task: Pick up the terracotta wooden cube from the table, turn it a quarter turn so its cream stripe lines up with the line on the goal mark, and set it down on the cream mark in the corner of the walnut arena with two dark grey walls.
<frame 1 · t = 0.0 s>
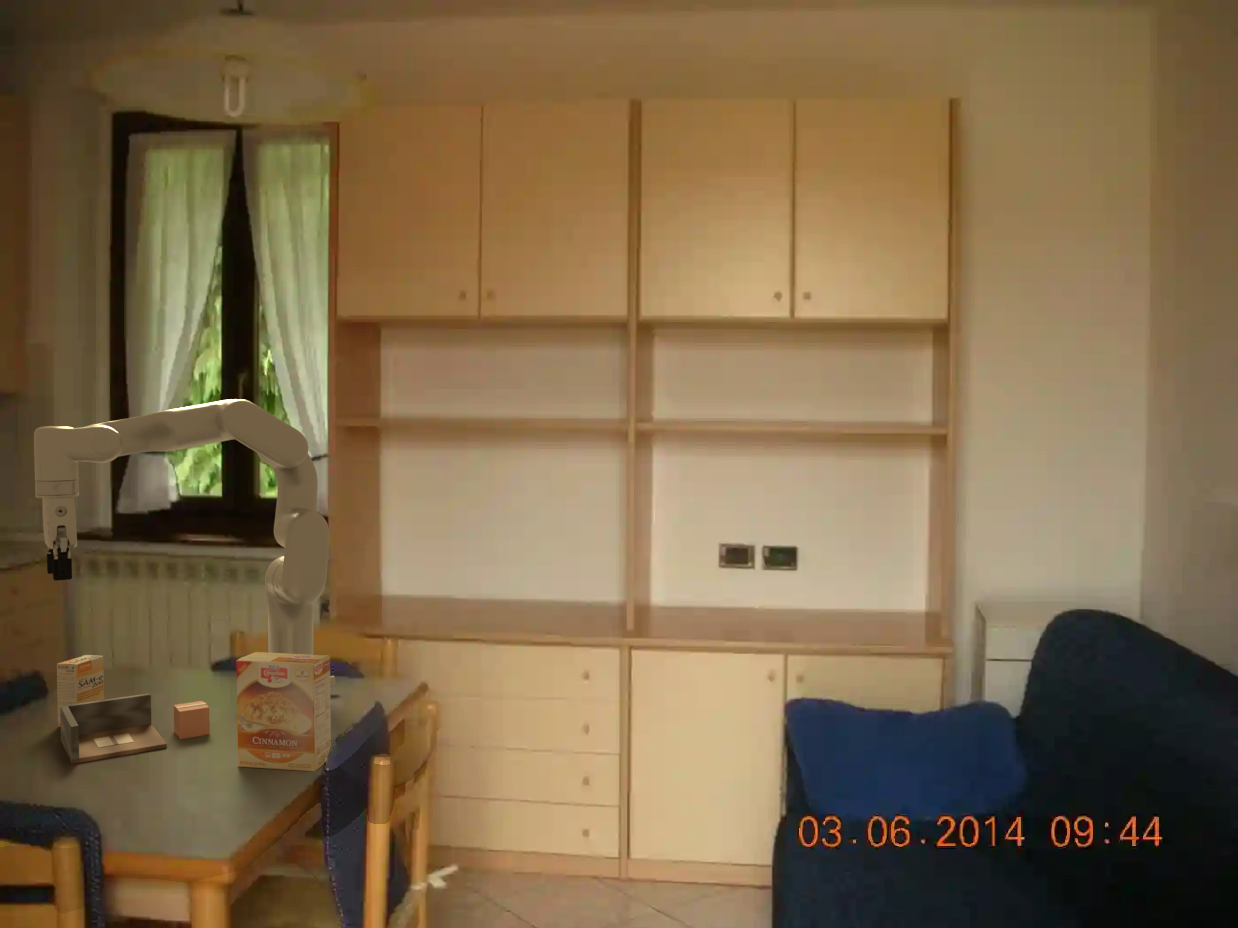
hand: (59, 576, 204), 31 cm above the table, tool pointing down, fingers open, 9 cm apart
supplement box: (82, 723, 213), on the table
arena: (113, 744, 199), on the table
coffeecake box: (285, 764, 189), on the table
cube: (191, 733, 206), on the table
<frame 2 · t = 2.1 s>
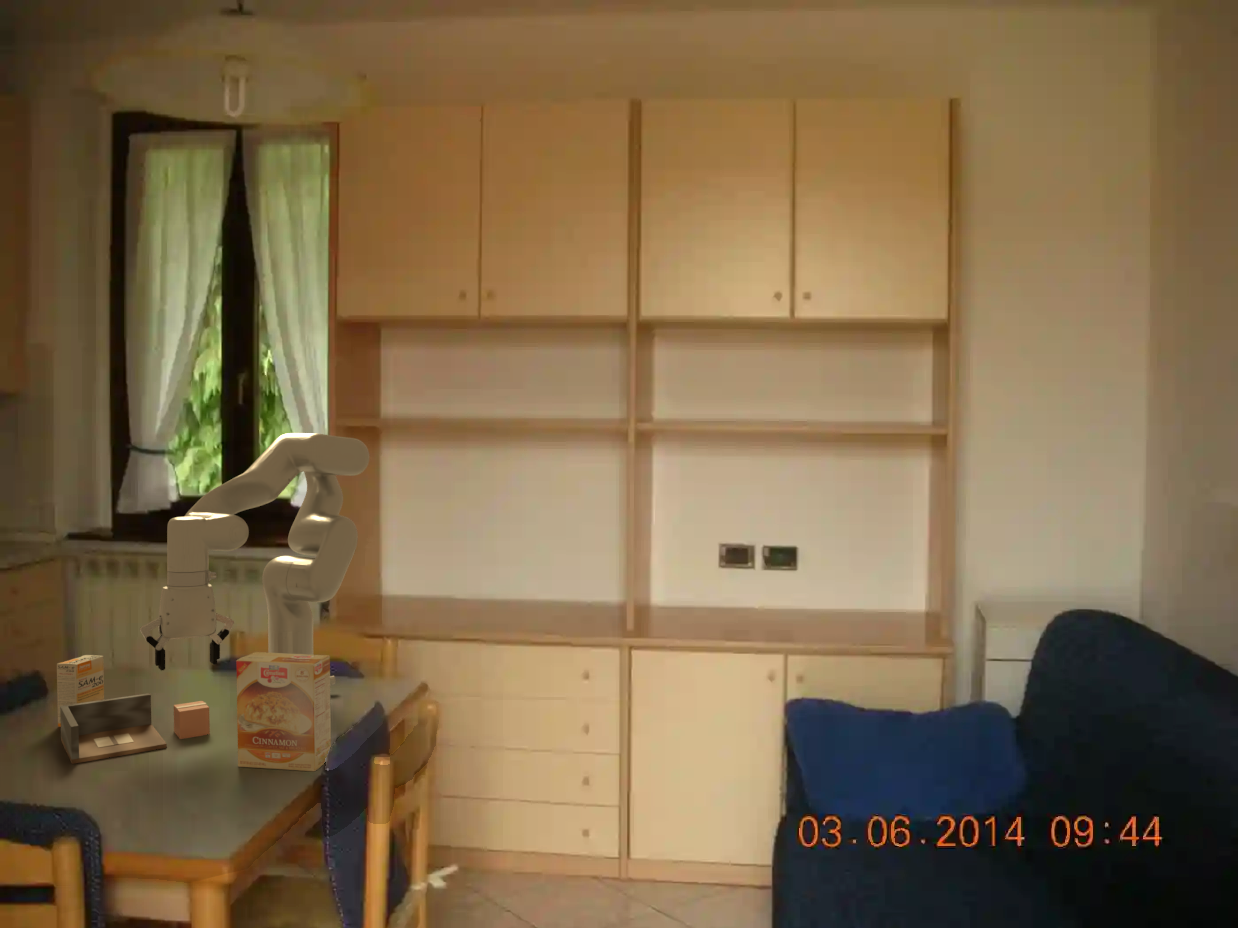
hand: (187, 666, 205), 14 cm above the table, tool pointing down, fingers open, 9 cm apart
nothing on the table moved.
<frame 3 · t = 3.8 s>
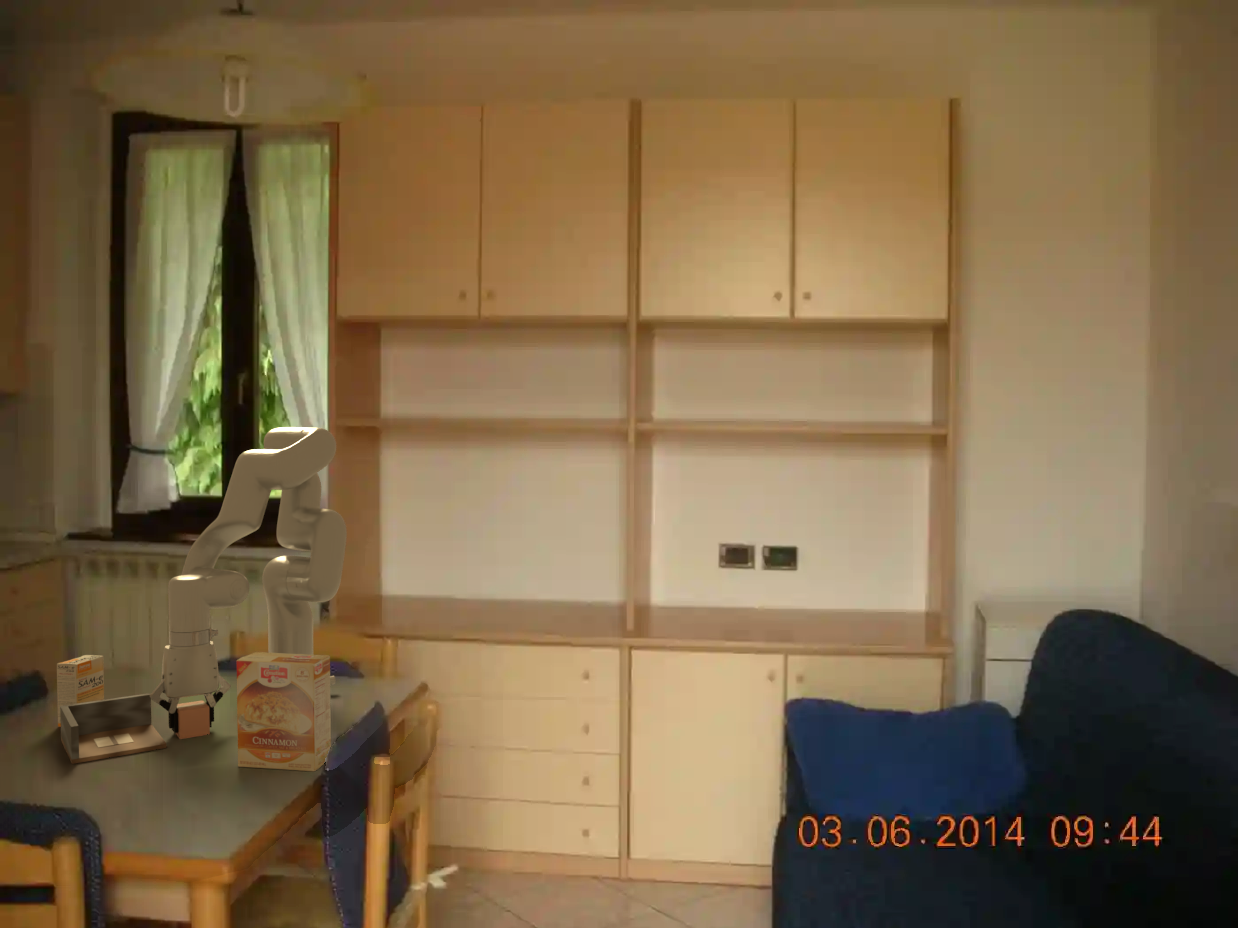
hand: (191, 727, 206), 1 cm above the table, tool pointing down, fingers closed on cube, 5 cm apart
cube: (191, 732, 206), on the table, touching gripper
everything else where it was.
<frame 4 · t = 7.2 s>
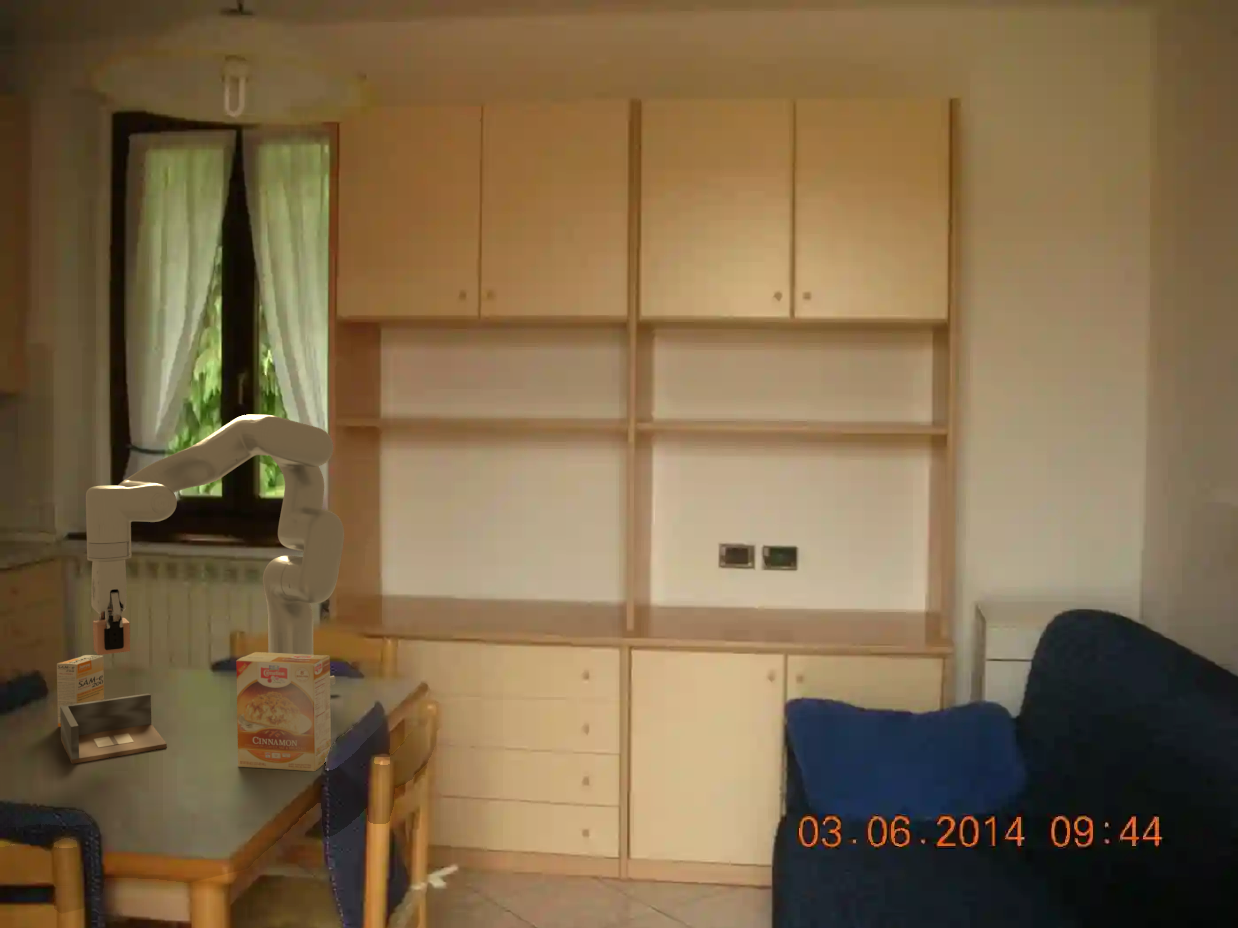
hand: (111, 644, 197), 19 cm above the table, tool pointing down, fingers closed on cube, 5 cm apart
cube: (111, 650, 198), point 18 cm above the table, touching gripper
everything else where it was.
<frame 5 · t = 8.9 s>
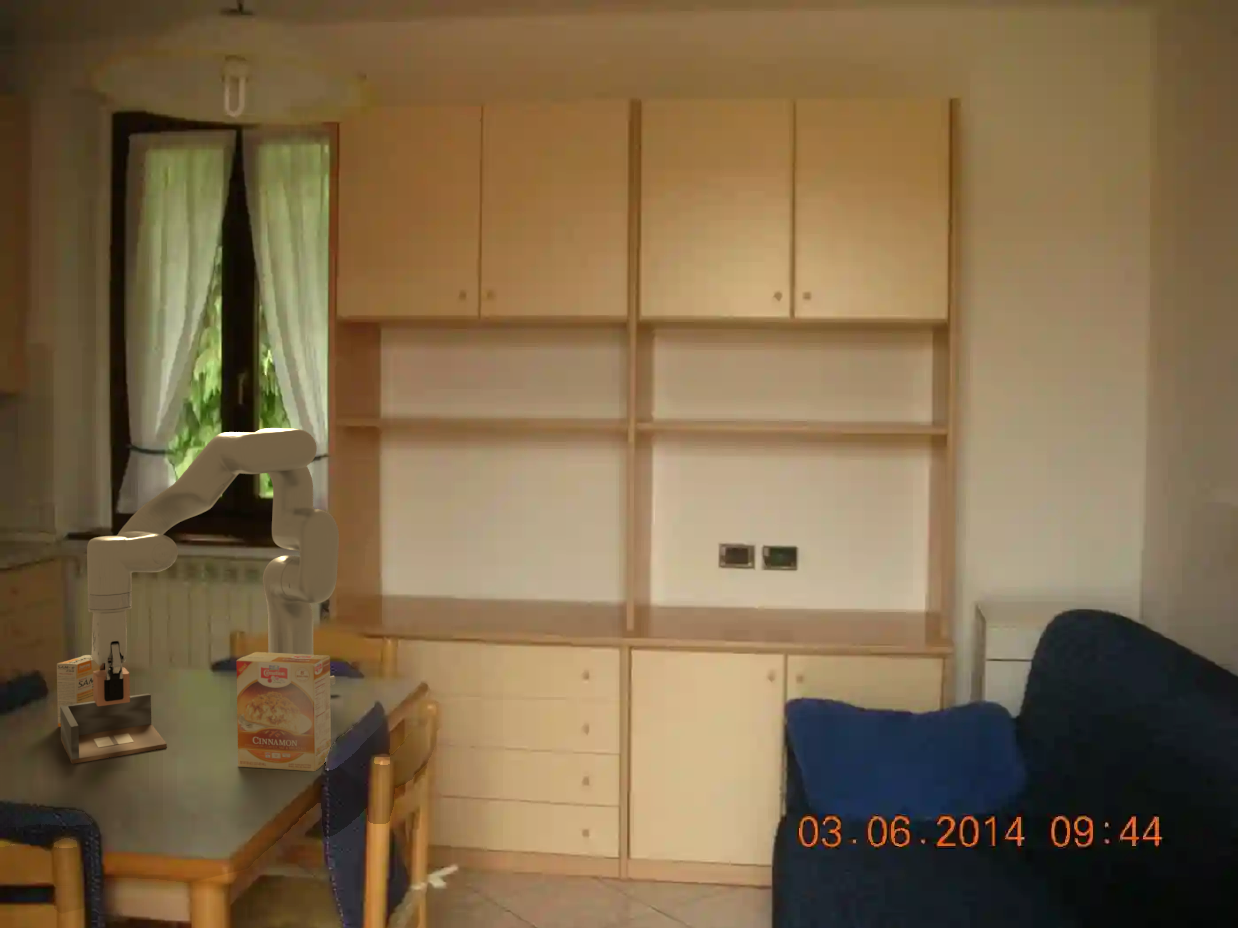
hand: (111, 695, 198), 10 cm above the table, tool pointing down, fingers closed on cube, 5 cm apart
cube: (111, 700, 198), point 9 cm above the table, touching gripper
everything else where it was.
when the fingers open (3 cm above the table, at t = 10.6 s): cube stays where it is, resting on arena.
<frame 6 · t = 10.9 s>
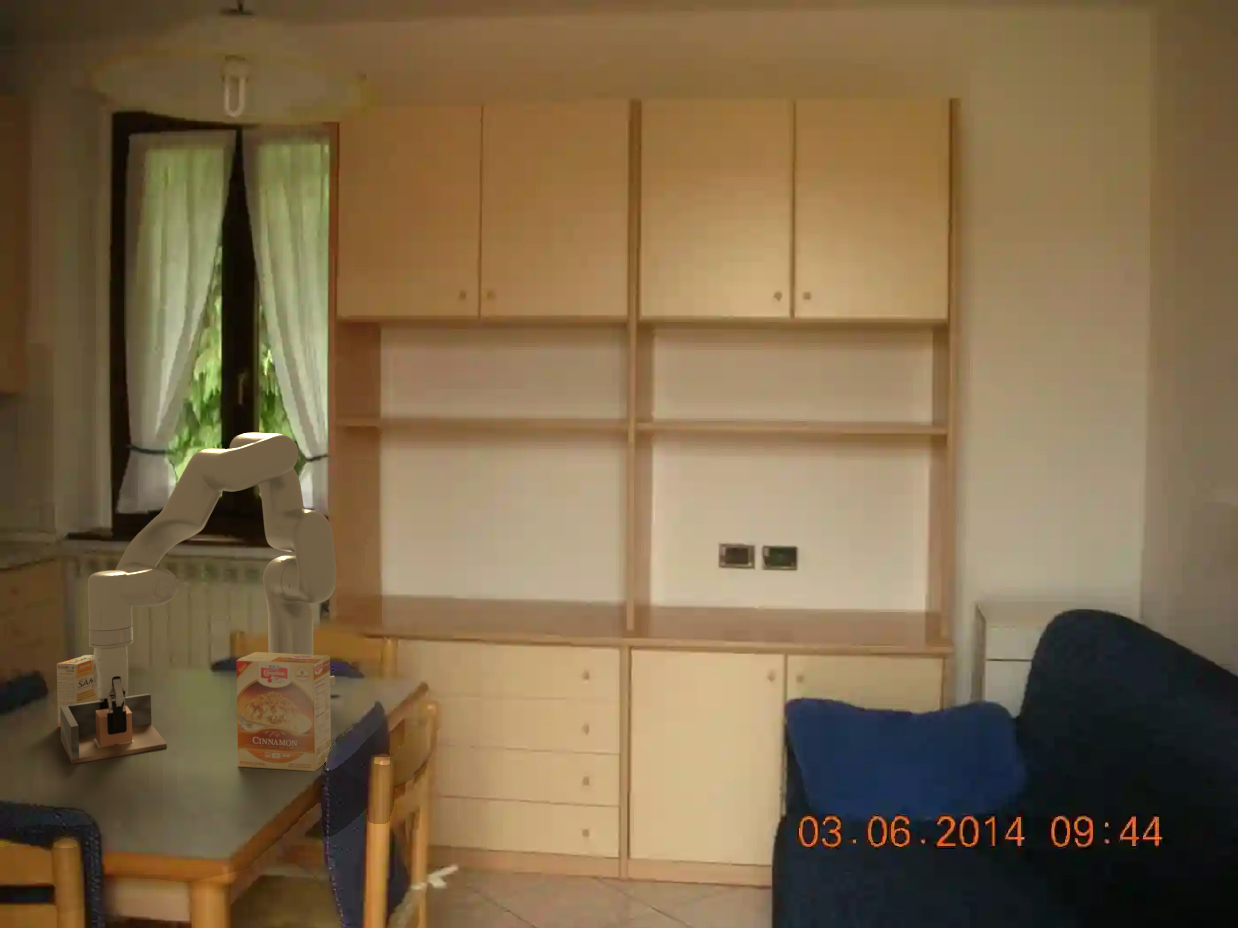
hand: (113, 726, 198), 4 cm above the table, tool pointing down, fingers open, 8 cm apart
cube: (114, 739, 198), point 1 cm above the table, touching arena
everything else where it was.
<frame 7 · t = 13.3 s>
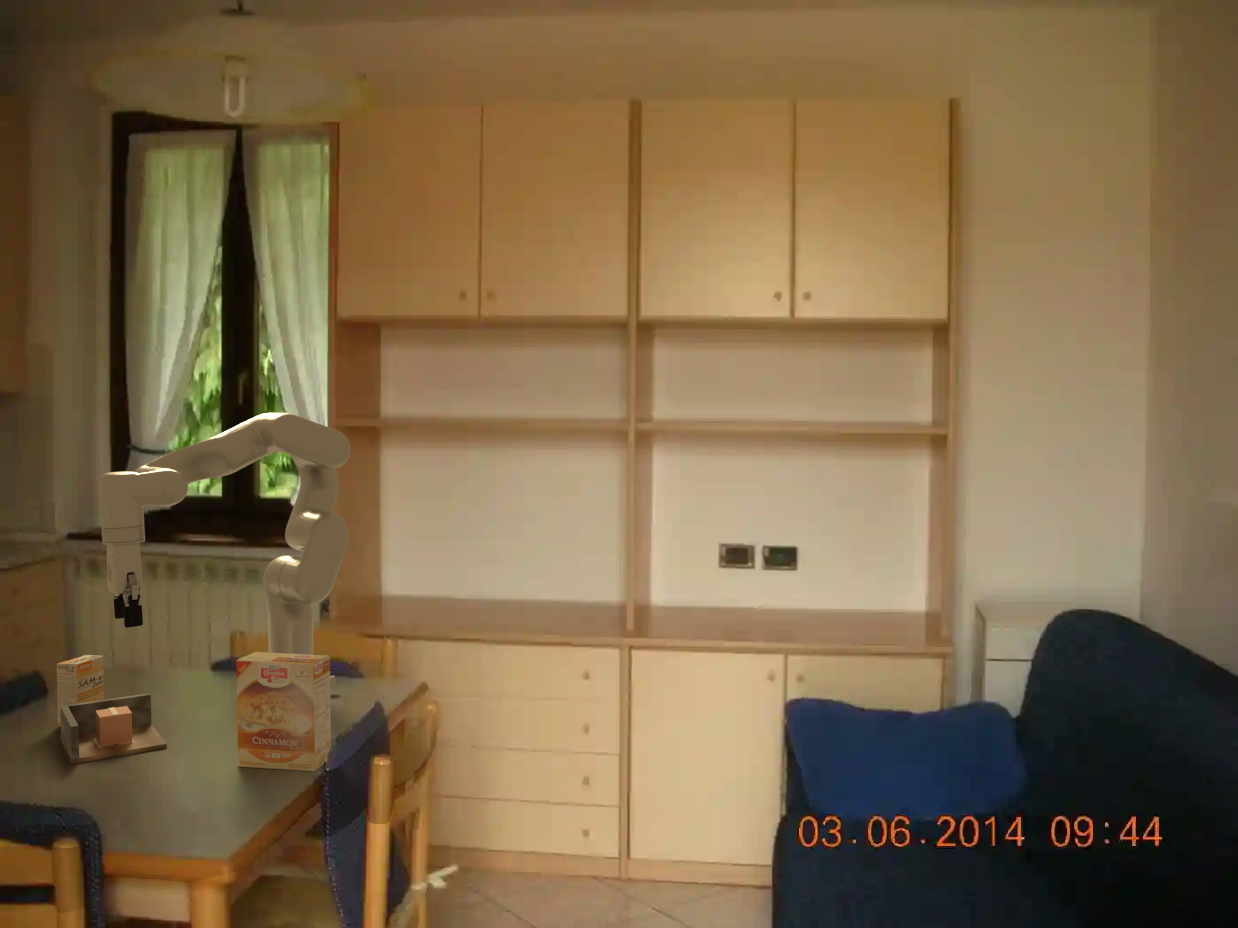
hand: (128, 621, 204), 22 cm above the table, tool pointing down, fingers open, 9 cm apart
nothing on the table moved.
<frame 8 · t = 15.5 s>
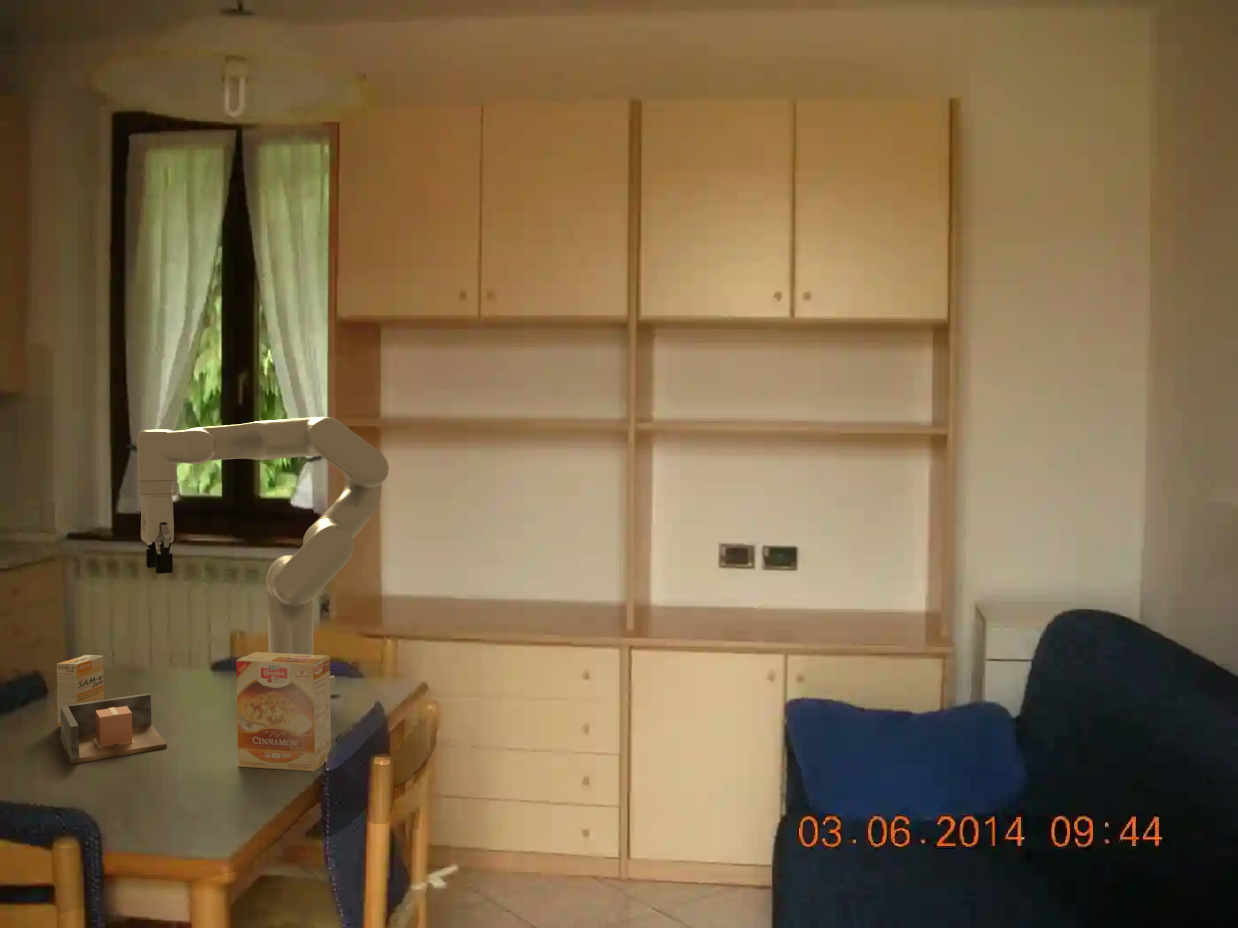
hand: (159, 570, 218), 30 cm above the table, tool pointing down, fingers open, 9 cm apart
nothing on the table moved.
at the end: cube 0.1 cm from the target spot, point 0.9 cm above the table; cube tilted 0°; the gripper is holding nothing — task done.
